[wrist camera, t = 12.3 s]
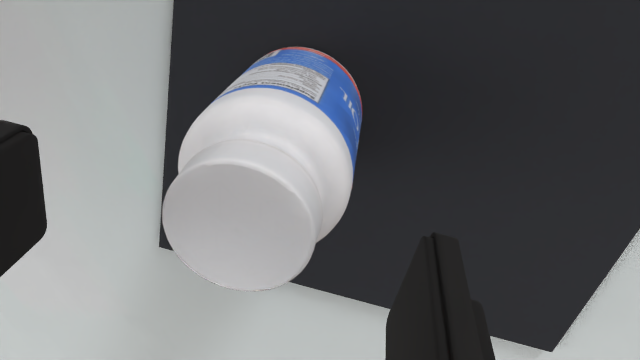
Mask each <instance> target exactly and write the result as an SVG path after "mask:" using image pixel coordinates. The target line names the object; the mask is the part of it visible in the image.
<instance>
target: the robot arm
mask: <svg viewBox="0 0 640 360" xmlns="http://www.w3.org/2000/svg"><path fill="white" fill-rule="evenodd" d="M46 228H47V220H46V211H45V202H44V193H43V184H42V175H41V166H40V157H39V148H38V140H37V137H36V136H35V135H33V134H32V131H31V130H30V128H28V127H27V126H23V125H20V124H16V123H12V122H8V121H4V120H0V277H1V276H2V275H3V274H4V273H5V272H6V271H7V270H8V269H9V268H10V267H12V266H13V265H14V264H15V263H16V262H17V261H18V260H19V259H20V258H21V257H22V256H23V255H24V254H25V253H27V252H28V251H29V250H30V249H31V248H32V247H33V246H34V245H35V244H36V243H37V242H38V241H39V240H40V239H41V238H42V237H43V236H44V234H45V231H46ZM386 360H495V356H494V352H493V348H492V343H491V339H490V335H489V331H488V326H487V322H486V318H485V314H484V310H483V307H482V304H481V303H480V302H479V301H476V300H472V299H471V298H470V293H469V288H468V284H467V279H466V274H465V269H464V265H463V260H462V255H461V250H460V246H459V241H458V239H457V238H454V237H451V236H447V235H443V234H439V233H435V232H433V233H432V234H431V235H430V237H426V236H423V237H422V238H421V240H420V242H419V244H418V247H417V249H416V251H415V254H414V256H413V258H412V261H411V263H410V266H409V268H408V270H407V273H406V275H405V277H404V280H403V282H402V284H401V287H400V289H399V291H398V294H397V296H396V298H395V301H394V303H393V305H392V308H391V310H390V312H389V315H388V319H387V324H386Z"/></svg>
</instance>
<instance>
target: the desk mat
mask: <svg viewBox="0 0 640 360" xmlns="http://www.w3.org/2000/svg"><path fill="white" fill-rule="evenodd" d="M287 47H305V48H311V49H314V50H317V51H320V52H323V53H325V54H327V55H329V56H330V57H332V58H334V59H335V60H336V61H338V62H339V63H340V64H341V65H342V66H343V67H344V68H345V69H346V70H347V71H348V72H349V74H350V75H351V76H352V78H353V80H354V81H355V83H356V85H357V88H358V90H359V93H360V97H361V103H362V122H361V128H360V135H359V142H358V149H357V156H356V163H355V170H354V178H353V185H352V190H351V193H350V198H349V201H348V204H347V207H346V209H345V212H344V214H343V216H342V217H341V219H340V220H339V222H338V223H337V224H336V225H335V227H334V228H333V229H332V230H331V231H330V232H329V233H328V234H327V235H326V236H325V237H324V238H322V239H321V240H320V241H318V242H317V243H316V244H315V248H314V251H313V253H312V256H311V258H310V260H309V262H308V264H307V265H306V267H305V268H304V269H303V270H302V272H301V273H299V274H298V275H297V276H296V277H295V278H294V279H292V280H291V281H289V282H292V283H296V284H299V285H303V286H307V287H310V288H314V289H318V290H322V291H325V292H329V293H333V294H337V295H340V296H344V297H348V298H351V299H355V300H359V301H363V302H366V303H370V304H374V305H378V306H381V307H385V308H389V309H391V308H392V305H393V303H394V301H395V298H396V296H397V294H398V291H399V289H400V287H401V284H402V282H403V280H404V277H405V275H406V273H407V270H408V268H409V266H410V263H411V261H412V258H413V256H414V254H415V251H416V249H417V247H418V244H419V242H420V240H421V238H422V237H423V236H426V237H430V235H431V234H432V233H433V232H435V233H439V234H443V235H447V236H451V237H454V238H457V239H458V241H459V246H460V250H461V255H462V260H463V265H464V269H465V274H466V279H467V284H468V288H469V293H470V298H471V299H472V300H476V301H479V302H480V303H481V304H482V307H483V310H484V314H485V318H486V322H487V326H488V331H489V335H490V336H493V337H497V338H501V339H504V340H508V341H512V342H516V343H519V344H523V345H527V346H530V347H534V348H538V349H542V350H545V351H549V352H552V351H553V350H554V348H555V347H556V346H557V344H558V343H559V341H560V340H561V339H562V337H563V336H564V334H565V333H566V331H567V330H568V329H569V327H570V326H571V324H572V323H573V322H574V320H575V319H576V317H577V316H578V315H579V313H580V312H581V310H582V309H583V308H584V306H585V305H586V303H587V302H588V301H589V299H590V298H591V296H592V295H593V293H594V292H595V291H596V289H597V288H598V286H599V285H600V284H601V282H602V281H603V279H604V278H605V277H606V275H607V274H608V272H609V271H610V270H611V268H612V267H613V265H614V264H615V262H616V261H617V260H618V258H619V257H620V255H621V254H622V253H623V251H624V250H625V248H626V247H627V246H628V244H629V243H630V241H631V240H632V239H633V237H634V236H635V234H636V233H637V232H638V230H639V229H640V0H174V9H173V25H172V42H171V59H170V75H169V92H168V109H167V125H166V142H165V159H164V175H163V192H162V209H163V203H164V199H165V195H166V193H167V191H168V189H169V187H170V185H171V184H172V182H173V181H174V180H175V178H176V177H177V176H178V174H179V173H178V159H179V153H180V149H181V145H182V142H183V140H184V138H185V136H186V134H187V132H188V130H189V129H190V127H191V125H192V124H193V122H194V121H195V120H196V119H197V117H198V116H199V115H200V114H201V113H202V112H203V111H204V110H205V109H206V108H207V107H208V106H209V105H210V104H211V103H212V102H213V101H214V100H215V99H216V98H217V97H218V96H219V95H220V94H222V93H223V91H225V90H226V89H227V88H228V87H229V86H230V85H231V84H232V83H233V82H234V81H235V80H236V79H237V78H239V77H240V76H241V75H242V74H243V73H244V72H245V71H246V70H247V69H248V68H249V67H250V66H251V65H253V64H254V63H255V62H256V61H257V60H259V59H260V58H262V57H263V56H265V55H267V54H268V53H270V52H272V51H275V50H278V49H282V48H287ZM162 209H161V225H160V242H159V247H161V248H165V249H169V250H173V249H172V247H171V245H170V243H169V241H168V239H167V237H166V234H165V231H164V227H163V222H162ZM173 251H174V250H173Z"/></svg>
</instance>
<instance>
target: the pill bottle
mask: <svg viewBox="0 0 640 360" xmlns="http://www.w3.org/2000/svg"><path fill="white" fill-rule="evenodd" d="M361 122H362V103H361V97H360V93H359V90H358V88H357V85H356V83H355V81H354V80H353V78H352V76H351V75H350V74H349V72H348V71H347V70H346V69H345V68H344V67H343V66H342V65H341V64H340V63H339V62H338V61H336V60H335V59H334V58H332V57H330V56H329V55H327V54H325V53H323V52H320V51H317V50H314V49H311V48H305V47H287V48H282V49H278V50H275V51H272V52H270V53H268V54H267V55H265V56H263V57H262V58H260V59H259V60H257V61H256V62H255V63H254V64H253V65H251V66H250V67H249V68H248V69H247V70H246V71H245V72H244V73H243V74H242V75H241V76H240V77H239V78H237V79H236V80H235V81H234V82H233V83H232V84H231V85H230V86H229V87H228V88H227V89H226V90H225V91H223V93H222V94H220V95H219V96H218V97H217V98H216V99H215V100H214V101H213V102H212V103H211V104H210V105H209V106H208V107H207V108H206V109H205V110H204V111H203V112H202V113H201V114H200V115H199V116H198V117H197V119H196V120H195V121H194V122H193V124H192V125H191V127H190V129H189V130H188V132H187V134H186V136H185V138H184V140H183V142H182V145H181V149H180V153H179V159H178V173H179V174H178V176H177V177H176V178H175V180H174V181H173V182H172V184H171V185H170V187H169V189H168V191H167V193H166V195H165V199H164V203H163V209H162V222H163V227H164V231H165V234H166V237H167V239H168V241H169V243H170V245H171V247H172V249H173V250H174V252H175V253H176V254H177V256H178V257H179V258H180V259H181V260H182V261H183V263H184V264H185V265H186V266H187V267H189V268H190V269H191V270H193V271H194V272H195V273H196V274H198V275H199V276H201V277H202V278H204V279H206V280H208V281H210V282H212V283H214V284H217V285H220V286H222V287H225V288H229V289H234V290H240V291H263V290H269V289H273V288H276V287H279V286H281V285H283V284H285V283H287V282H289V281H291V280H292V279H294V278H295V277H296V276H297V275H298V274H299V273H301V272H302V270H303V269H304V268H305V267H306V265H307V264H308V262H309V260H310V258H311V256H312V253H313V251H314V248H315V244H316V243H317V242H318V241H320V240H321V239H322V238H324V237H325V236H326V235H327V234H328V233H329V232H330V231H331V230H332V229H333V228H334V227H335V225H336V224H337V223H338V222H339V220H340V219H341V217H342V216H343V214H344V212H345V209H346V207H347V204H348V201H349V198H350V193H351V190H352V185H353V178H354V170H355V163H356V156H357V149H358V142H359V135H360V128H361Z"/></svg>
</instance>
